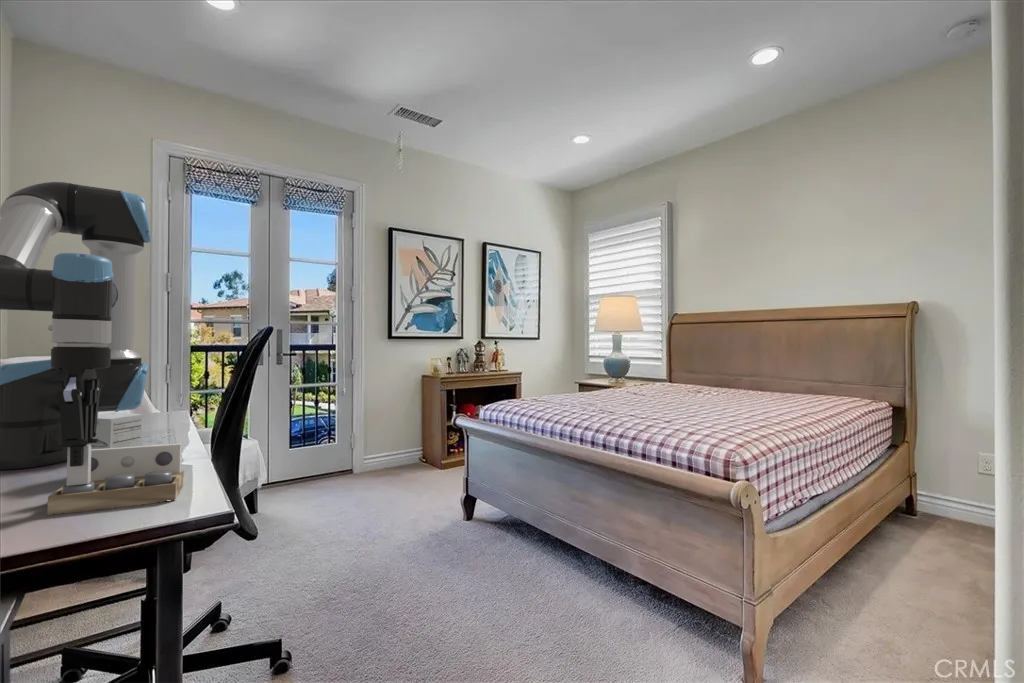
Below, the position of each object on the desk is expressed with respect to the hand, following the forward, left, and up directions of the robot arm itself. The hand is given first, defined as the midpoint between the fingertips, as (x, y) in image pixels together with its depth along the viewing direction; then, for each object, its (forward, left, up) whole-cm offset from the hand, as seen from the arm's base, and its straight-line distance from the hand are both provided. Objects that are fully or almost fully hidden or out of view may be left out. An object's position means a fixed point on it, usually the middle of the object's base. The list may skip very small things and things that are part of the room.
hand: (78, 483), depth 80 cm
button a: (0, 0, -2) cm, 2 cm away
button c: (0, +11, -1) cm, 11 cm away
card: (-6, +6, -1) cm, 8 cm away
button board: (-2, +5, -4) cm, 7 cm away
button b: (0, +5, -2) cm, 6 cm away
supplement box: (-21, -1, -4) cm, 22 cm away
